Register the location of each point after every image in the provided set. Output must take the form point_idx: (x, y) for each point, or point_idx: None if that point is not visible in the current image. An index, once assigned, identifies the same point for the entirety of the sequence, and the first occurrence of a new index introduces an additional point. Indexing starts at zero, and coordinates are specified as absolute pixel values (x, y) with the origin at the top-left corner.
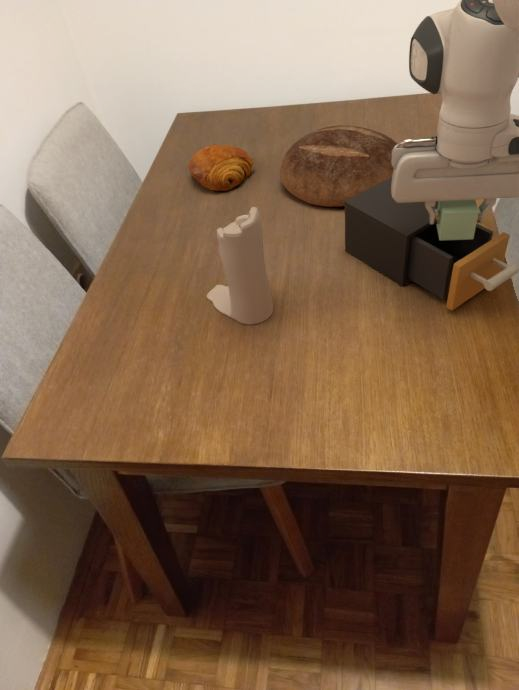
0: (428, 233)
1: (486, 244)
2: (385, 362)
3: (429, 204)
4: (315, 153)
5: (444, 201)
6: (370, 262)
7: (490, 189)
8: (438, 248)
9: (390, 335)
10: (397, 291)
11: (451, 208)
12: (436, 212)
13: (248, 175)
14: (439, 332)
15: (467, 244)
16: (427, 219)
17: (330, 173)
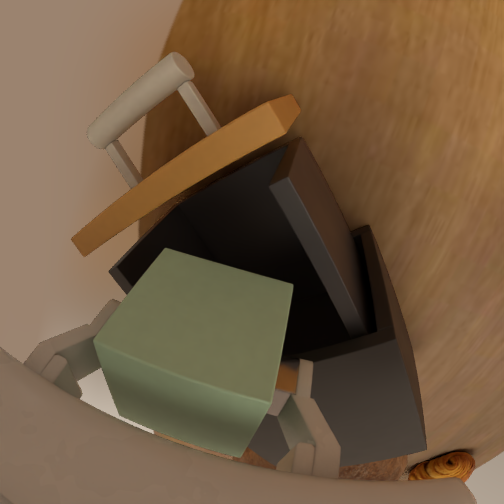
0: None
1: (131, 216)
2: (480, 18)
3: (322, 456)
4: None
5: (234, 439)
6: (400, 311)
7: (13, 415)
8: None
9: (454, 81)
10: (385, 214)
11: (217, 408)
12: (278, 403)
13: (419, 465)
14: (342, 45)
15: None
16: None
17: (361, 472)
